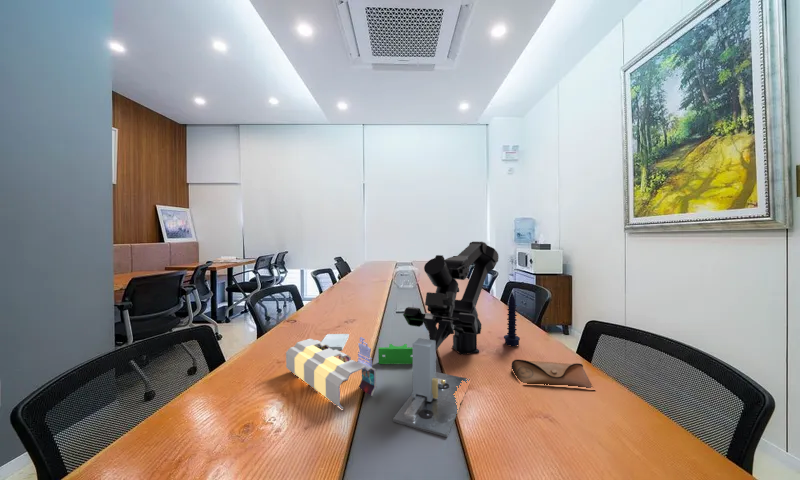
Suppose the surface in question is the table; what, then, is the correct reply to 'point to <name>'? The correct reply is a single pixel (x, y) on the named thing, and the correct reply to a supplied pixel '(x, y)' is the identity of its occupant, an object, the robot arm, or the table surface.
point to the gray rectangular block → (424, 369)
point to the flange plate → (432, 408)
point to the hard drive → (335, 341)
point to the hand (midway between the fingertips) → (432, 351)
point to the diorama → (329, 367)
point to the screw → (512, 323)
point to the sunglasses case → (550, 373)
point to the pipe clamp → (395, 354)
